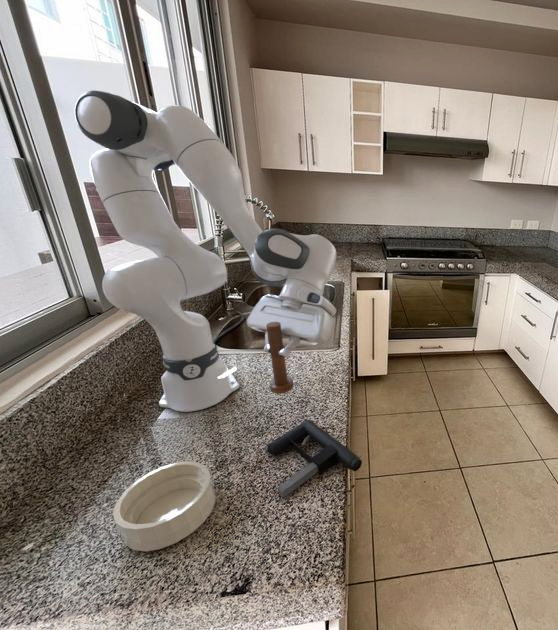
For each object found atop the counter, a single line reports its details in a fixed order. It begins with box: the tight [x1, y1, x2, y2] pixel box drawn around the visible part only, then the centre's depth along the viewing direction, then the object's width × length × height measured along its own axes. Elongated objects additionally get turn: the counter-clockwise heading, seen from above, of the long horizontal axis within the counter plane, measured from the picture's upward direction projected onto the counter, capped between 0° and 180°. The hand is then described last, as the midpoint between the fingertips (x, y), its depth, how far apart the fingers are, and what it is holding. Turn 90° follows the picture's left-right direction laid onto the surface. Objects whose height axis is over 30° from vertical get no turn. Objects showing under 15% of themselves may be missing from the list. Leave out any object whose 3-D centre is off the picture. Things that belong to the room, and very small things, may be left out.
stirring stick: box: [266, 322, 295, 395], centre depth 76 cm, size 5×5×16 cm
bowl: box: [112, 460, 217, 552], centre depth 60 cm, size 14×14×6 cm
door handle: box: [266, 419, 363, 499], centre depth 73 cm, size 3×20×16 cm
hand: (275, 354), depth 75 cm, fingers closed on stirring stick, 3 cm apart
